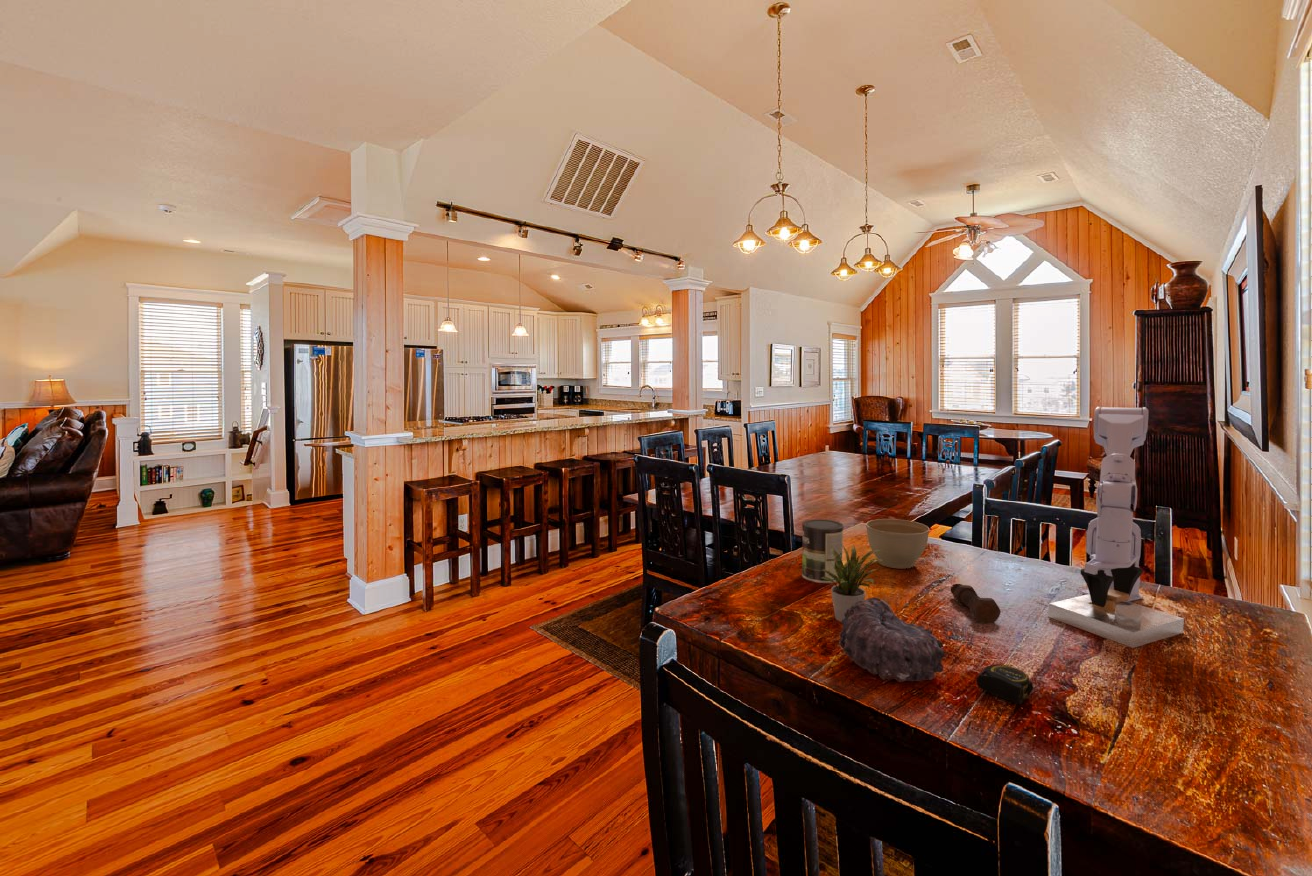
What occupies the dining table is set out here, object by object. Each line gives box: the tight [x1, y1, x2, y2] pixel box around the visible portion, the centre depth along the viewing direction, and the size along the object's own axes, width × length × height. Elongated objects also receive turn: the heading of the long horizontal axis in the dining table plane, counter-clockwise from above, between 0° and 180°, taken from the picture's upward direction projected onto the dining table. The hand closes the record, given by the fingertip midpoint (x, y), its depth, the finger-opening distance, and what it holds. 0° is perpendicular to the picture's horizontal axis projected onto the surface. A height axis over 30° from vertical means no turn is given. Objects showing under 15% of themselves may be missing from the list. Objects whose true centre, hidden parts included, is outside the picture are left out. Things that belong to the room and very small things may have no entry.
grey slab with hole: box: [1048, 594, 1185, 649], centre depth 121 cm, size 16×16×7 cm
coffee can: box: [801, 518, 844, 584], centre depth 152 cm, size 10×10×14 cm
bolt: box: [950, 583, 1002, 624], centre depth 130 cm, size 6×5×15 cm
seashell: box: [838, 596, 946, 683], centre depth 105 cm, size 19×13×15 cm
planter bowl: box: [865, 518, 930, 570], centre depth 162 cm, size 16×16×11 cm
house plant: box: [816, 543, 885, 623], centre depth 125 cm, size 14×14×16 cm
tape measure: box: [976, 664, 1034, 705], centre depth 95 cm, size 7×7×4 cm
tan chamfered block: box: [1092, 589, 1129, 612], centre depth 123 cm, size 4×5×6 cm
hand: (1109, 602), depth 123 cm, fingers open, 7 cm apart
